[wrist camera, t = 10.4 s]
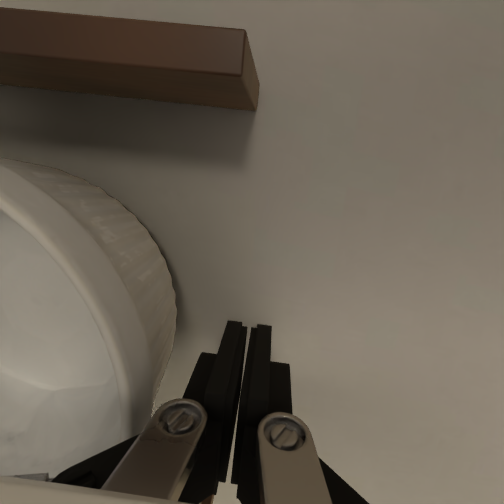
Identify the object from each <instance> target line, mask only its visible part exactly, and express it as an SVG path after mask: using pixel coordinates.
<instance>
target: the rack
mask: <svg viewBox="0 0 504 504" xmlns="http://www.w3.org/2000/svg"><path fill="white" fill-rule="evenodd" d="M0 84H2V85H11V86H21V87H30V88H40V89H50V90H59V91H69V92H78V93H88V94H97V95H107V96H117V97H126V98H136V99H145V100H155V101H164V102H174V103H184V104H193V105H203V106H212V107H222V108H231V109H241V110H251V111H256V110H257V104H258V95H259V85H260V84H259V80H258V77H257V73H256V69H255V65H254V61H253V57H252V53H251V49H250V45H249V41H248V37H247V33H246V30H244V29H235V28H224V27H213V26H202V25H191V24H180V23H169V22H158V21H147V20H136V19H125V18H114V17H103V16H92V15H81V14H70V13H59V12H48V11H37V10H26V9H15V8H4V7H0ZM213 499H214V495H213V494H212V495H210V496H209V497H208V498H206V499H205V500H203V501H202V502H201V504H213Z"/></svg>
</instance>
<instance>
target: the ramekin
mask: <svg viewBox="0 0 504 504" xmlns="http://www.w3.org/2000/svg"><path fill="white" fill-rule="evenodd" d="M175 298H176V296H175V291H174V289H173V287H172V277H171V275H170V273H169V271H168V269H167V265H166V261H165V259H164V257H163V256H162V255H161V253H160V250H159V248H158V245H157V244H156V243H155V241H154V240H153V239H152V238H151V236H150V234H149V233H148V231H147V229H146V228H145V227H144V226H143V225H142V224H141V223H140V222H139V221H138V219H137V218H136V217H135V215H134V214H133V213H131V212H129V211H128V210H126V209H125V208H124V207H123V205H122V204H121V203H120V202H119V201H118V200H117V199H115V198H112V197H109V196H108V195H107V194H106V193H105V192H104V190H103V189H101V188H99V187H97V186H92V185H90V184H89V183H88V182H87V181H86V180H84V179H82V178H79V177H75V176H71V175H70V174H68V173H66V172H64V171H62V170H59V169H55V168H51V167H46V166H41V165H36V164H31V163H27V162H22V161H17V160H12V159H6V158H0V476H10V475H24V474H39V473H49V478H55V477H56V476H57V475H58V474H59V473H61V472H63V471H64V470H66V469H68V468H69V467H71V466H73V465H75V464H77V463H79V462H82V461H84V460H86V459H88V458H90V457H92V456H94V455H96V454H98V453H100V452H102V451H105V450H107V449H109V448H111V447H113V446H115V445H117V444H119V443H121V442H123V441H125V440H127V439H130V438H132V437H134V436H136V435H138V434H140V433H141V432H142V430H143V429H144V427H145V426H146V425H147V423H148V422H149V420H150V419H151V413H152V406H153V401H154V398H155V395H156V393H157V390H158V388H159V385H160V382H161V380H162V377H163V374H164V372H165V369H166V366H167V363H168V360H169V358H170V355H171V352H172V349H173V344H174V335H175V332H176V321H175V320H176V316H177V308H176V305H175Z"/></svg>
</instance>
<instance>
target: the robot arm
mask: <svg viewBox="0 0 504 504" xmlns="http://www.w3.org/2000/svg"><path fill="white" fill-rule="evenodd" d="M271 331H272V326H268V325H260V324H258V325H257V328H253V327H251V333H250V339H249V345H248V351H247V358H246V364H245V370H244V376H243V382H242V373H243V364H244V354H245V345H246V336H247V327H246V326H242V322H237V321H229V320H228V322H227V325H226V328H225V331H224V334H223V337H222V340H221V344H220V347H219V350H218V353H217V354H212V353H205V352H202V353H201V354H200V356H199V359H198V361H197V364H196V366H195V368H194V371H193V373H192V376H191V378H190V381H189V383H188V385H187V388H186V390H185V393H184V395H183V398H182V399H174V400H171V401H168V402H167V403H165V404H163V405H162V406H161V407H160V408H159V409H158V410H157V411H156V412H155V413H154V415H153V416H152V418H151V419H150V420H149V422H148V423H147V425H146V426H145V427H144V429H143V430H142V432H141V433H140V434H138V435H136V436H134V437H132V438H130V439H127V440H125V441H123V442H121V443H119V444H117V445H115V446H113V447H111V448H109V449H107V450H105V451H102V452H100V453H98V454H96V455H94V456H92V457H90V458H88V459H86V460H84V461H82V462H79V463H77V464H75V465H73V466H71V467H69V468H68V469H66V470H64V471H63V472H61V473H59V474H58V475H57V476H56V477H55V478H49V473H39V474H24V475H10V476H0V504H201V502H202V501H203V500H205V499H206V498H208V497H209V496H210V495H212V494H213V495H216V493H217V487H218V482H226V476H227V470H228V464H229V458H230V452H231V446H232V440H233V434H234V428H235V422H236V416H237V410H238V404H239V411H238V420H237V430H236V439H235V448H234V458H233V467H232V476H231V484H238V488H237V498H238V499H239V500H240V502H241V503H242V504H369V503H368V502H367V501H366V500H365V499H364V498H362V497H361V496H360V495H359V494H358V493H357V492H356V491H355V490H354V489H353V488H352V487H350V486H349V485H348V484H347V483H346V482H345V481H344V480H343V479H342V478H341V477H340V476H338V475H337V474H336V473H335V472H334V471H333V470H332V469H331V468H330V467H329V466H328V465H327V464H325V463H324V462H323V461H322V460H321V459H320V458H319V457H318V455H317V452H316V448H315V445H314V442H313V438H312V435H311V432H310V430H309V428H308V426H307V425H306V424H305V423H304V422H303V421H302V420H301V419H299V418H298V417H296V416H294V415H292V398H291V381H290V366H289V364H286V363H279V362H272V361H270V356H271ZM241 382H242V388H241ZM240 391H241V395H240ZM239 398H240V402H239Z"/></svg>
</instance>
